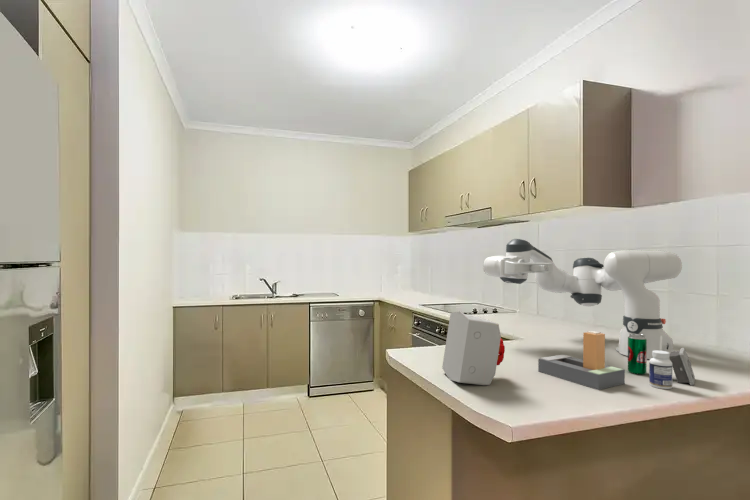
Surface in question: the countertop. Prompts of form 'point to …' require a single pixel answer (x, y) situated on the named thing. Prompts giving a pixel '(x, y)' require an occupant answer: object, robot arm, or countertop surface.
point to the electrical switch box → (472, 349)
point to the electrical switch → (682, 367)
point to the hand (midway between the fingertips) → (546, 268)
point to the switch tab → (593, 350)
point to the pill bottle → (660, 370)
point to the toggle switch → (581, 372)
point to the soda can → (637, 354)
